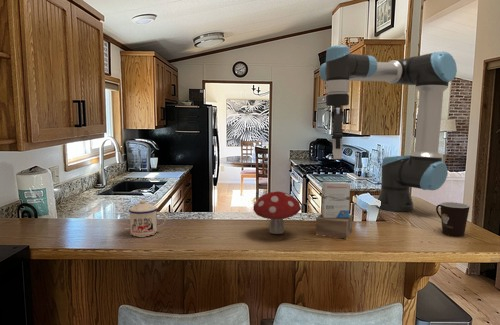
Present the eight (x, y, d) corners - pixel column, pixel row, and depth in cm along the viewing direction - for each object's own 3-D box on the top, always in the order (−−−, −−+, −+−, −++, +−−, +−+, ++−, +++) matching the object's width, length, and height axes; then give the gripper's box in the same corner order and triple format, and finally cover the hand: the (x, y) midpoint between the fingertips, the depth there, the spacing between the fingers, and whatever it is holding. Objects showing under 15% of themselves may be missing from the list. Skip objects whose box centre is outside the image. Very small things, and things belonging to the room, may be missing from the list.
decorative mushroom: (310, 237, 120) (310, 192, 118) (270, 245, 111) (270, 197, 110) (281, 225, 133) (281, 185, 132) (244, 232, 125) (243, 189, 123)
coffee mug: (472, 238, 117) (474, 208, 116) (443, 237, 119) (444, 207, 118) (459, 228, 129) (460, 200, 128) (432, 227, 130) (434, 199, 129)
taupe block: (323, 228, 131) (324, 211, 130) (352, 231, 126) (352, 214, 125) (315, 235, 122) (316, 218, 121) (346, 240, 117) (346, 221, 117)
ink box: (346, 214, 125) (347, 181, 124) (349, 218, 121) (350, 183, 119) (321, 214, 126) (322, 181, 125) (323, 218, 121) (324, 183, 120)
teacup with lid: (128, 238, 118) (126, 203, 117) (131, 231, 127) (130, 198, 126) (166, 236, 121) (165, 202, 120) (166, 228, 130) (165, 196, 128)
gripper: (326, 96, 135) (326, 153, 137) (326, 91, 111) (325, 160, 113) (347, 95, 133) (346, 153, 136) (351, 90, 109) (350, 160, 111)
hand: (337, 156), depth 124 cm, fingers open, 13 cm apart
